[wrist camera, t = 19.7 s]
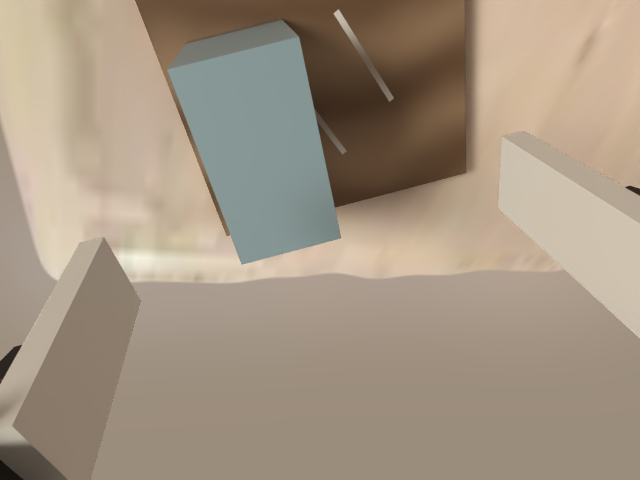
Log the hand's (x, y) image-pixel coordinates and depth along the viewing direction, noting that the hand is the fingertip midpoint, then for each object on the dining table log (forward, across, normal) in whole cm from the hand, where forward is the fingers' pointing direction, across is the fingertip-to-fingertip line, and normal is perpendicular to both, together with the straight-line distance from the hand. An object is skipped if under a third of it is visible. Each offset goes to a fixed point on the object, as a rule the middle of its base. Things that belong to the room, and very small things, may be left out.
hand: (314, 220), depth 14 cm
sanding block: (+18, -1, -1) cm, 18 cm away
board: (+19, +4, -1) cm, 19 cm away
